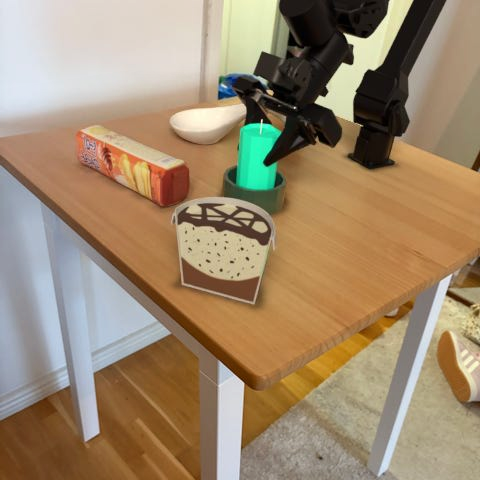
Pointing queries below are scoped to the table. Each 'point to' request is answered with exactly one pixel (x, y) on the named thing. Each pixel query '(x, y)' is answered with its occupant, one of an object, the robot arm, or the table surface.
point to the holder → (255, 191)
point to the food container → (223, 246)
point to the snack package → (134, 165)
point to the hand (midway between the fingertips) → (251, 158)
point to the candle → (256, 156)
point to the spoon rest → (210, 122)
